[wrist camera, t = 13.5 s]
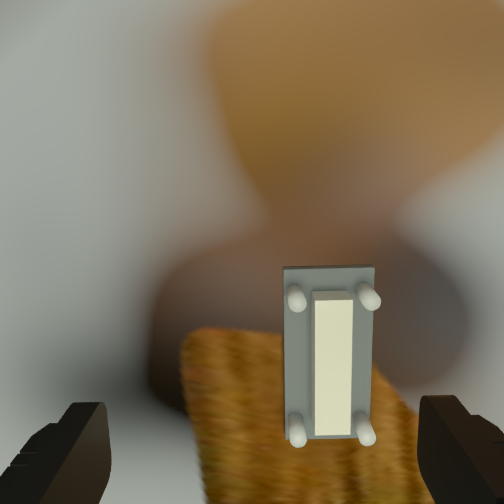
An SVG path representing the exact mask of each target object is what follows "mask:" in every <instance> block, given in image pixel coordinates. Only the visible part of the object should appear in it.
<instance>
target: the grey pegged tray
mask: <svg viewBox="0 0 504 504" xmlns="http://www.w3.org/2000/svg"><path fill="white" fill-rule="evenodd" d="M374 270H375V268H374V266H373V265H332V266H291V267H283V316H284V317H283V320H284V321H283V325H284V406H285V439H286V440H289V439H290V442H291V444H292V445H293V446H294V447H302V446H304V445H305V444H306V442H307V439H336V438H359V440H360V443H361V444H362V445H364V446H370V445H372V444H374V443H375V441H376V435H375V433H374V431H373V428H372V426H371V424H370V396H371V364H372V332H373V331H372V330H373V310H376V309H378V308H379V306H380V304H381V299H380V297H379V296H378V295H377V293H376V292H375V291H374ZM343 290H347V291H348V293H349V294H350V296H351V297H352V299H353V327H352V378H351V428H350V435H317V436H315V433H314V429H313V424H312V419H311V291H343Z"/></svg>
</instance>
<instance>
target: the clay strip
mask: <svg viewBox="0 0 504 504" xmlns="http://www.w3.org/2000/svg"><path fill="white" fill-rule="evenodd" d="M352 327H353V299H352V297H351V296H350V294H349V293H348V291H347V290H343V291H311V419H312V424H313V429H314V433H315V436H317V435H350V428H351V378H352Z"/></svg>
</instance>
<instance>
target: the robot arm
mask: <svg viewBox="0 0 504 504" xmlns="http://www.w3.org/2000/svg"><path fill="white" fill-rule="evenodd" d="M417 458H418V465H419V469H420V473H421V476H422V478H423V480H424V482H425V484H426V486H427V488H428V490H429V492H430V494H431V496H432V498H433V500H434V502H435V503H436V504H504V433H503V432H502V431H501V430H500V429H499V428H498V427H497V426H495V425H494V424H492V423H491V422H489V421H488V420H486V419H484V418H483V417H481V416H480V415H470V413H469V412H468V411H467V410H466V408H465V407H464V406H463V405H462V404H461V402H460V401H459V400H458V399H457V397H456V396H454V395H428V396H427V395H425V396H422V398H421V400H420V408H419V425H418V442H417ZM110 472H111V448H110V438H109V429H108V420H107V410H106V406H105V404H104V403H103V402H74V403H72V404H71V405H70V406H69V408H68V409H67V410H66V412H65V413H64V415H63V416H62V418H61V419H60V420H59V422H58V423H49V424H48V425H46V426H45V427H44V428H42V429H41V430H39V431H38V432H37V433H35V434H34V435H32V436H31V437H30V439H29V440H28V441H27V443H26V444H25V445H24V446H23V448H22V449H21V450H20V454H17V456H16V457H15V458H14V459H13V461H12V462H11V463H10V467H7V469H6V470H5V471H4V472H3V474H2V475H1V476H0V504H99V502H100V500H101V497H102V495H103V493H104V490H105V488H106V486H107V483H108V480H109V477H110Z"/></svg>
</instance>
